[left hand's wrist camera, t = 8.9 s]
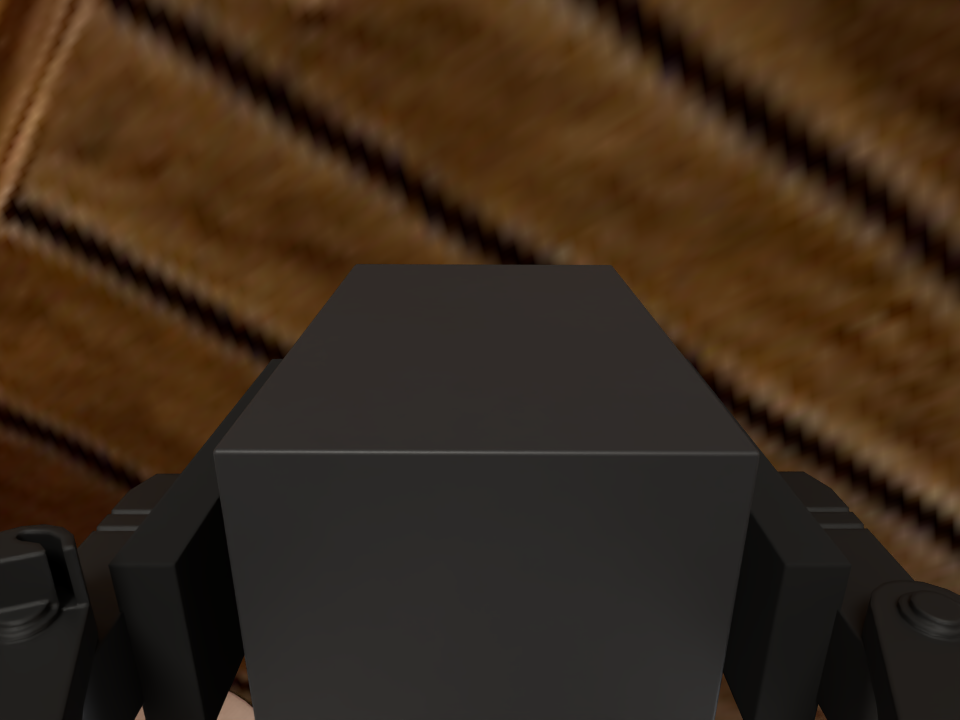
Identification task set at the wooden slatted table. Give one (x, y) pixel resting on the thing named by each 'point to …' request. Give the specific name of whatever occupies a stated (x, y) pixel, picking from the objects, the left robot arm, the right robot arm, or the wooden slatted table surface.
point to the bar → (485, 506)
